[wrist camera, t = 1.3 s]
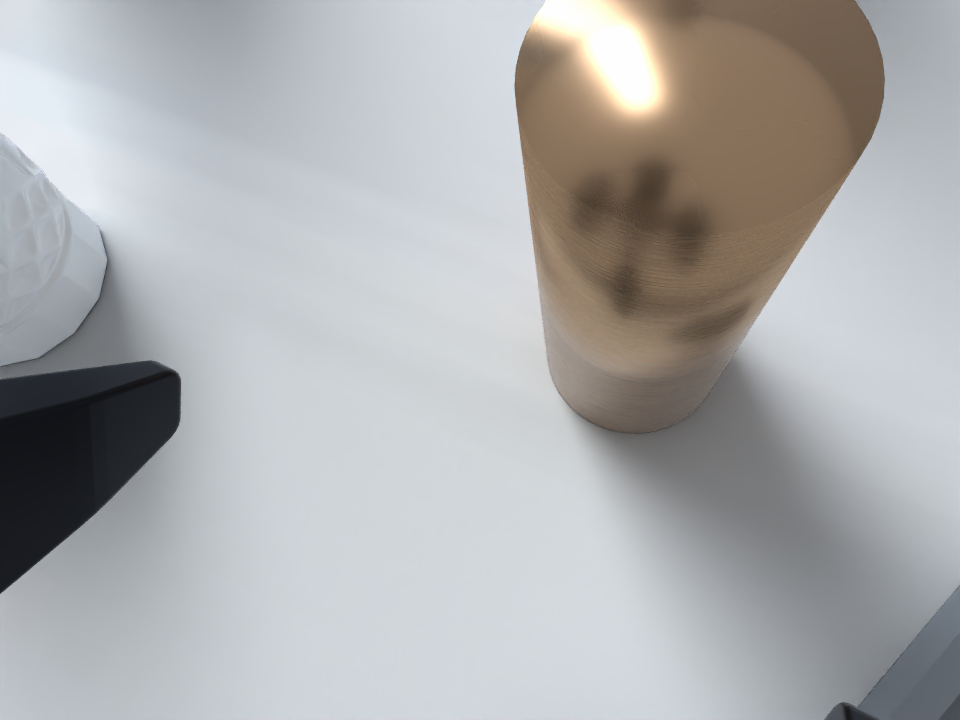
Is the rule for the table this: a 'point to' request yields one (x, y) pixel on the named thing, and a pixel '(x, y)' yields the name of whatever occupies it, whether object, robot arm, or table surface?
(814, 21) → the can
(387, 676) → the table surface
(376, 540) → the table surface
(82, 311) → the white cup
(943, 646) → the tray
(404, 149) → the table surface
